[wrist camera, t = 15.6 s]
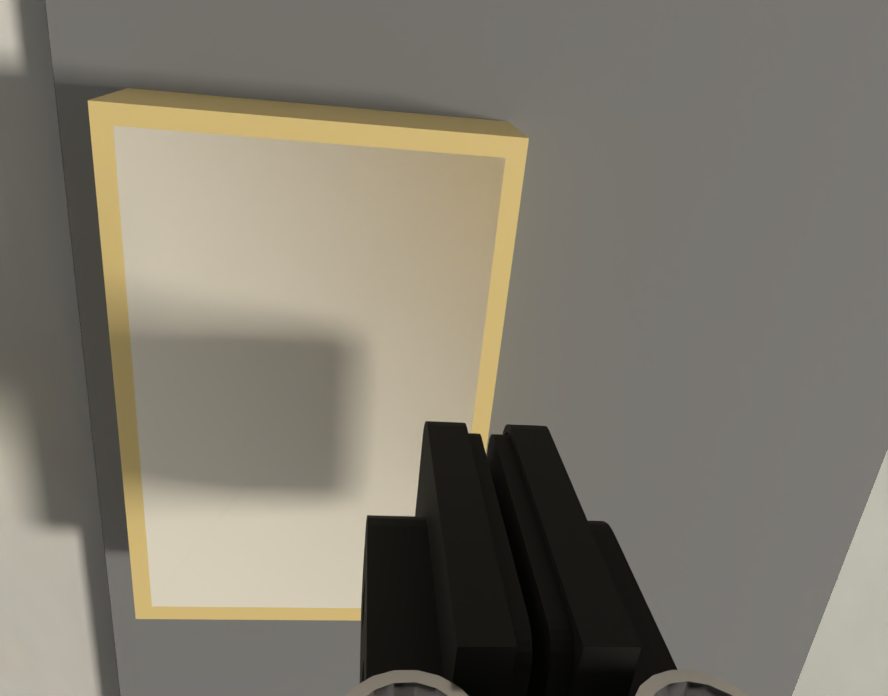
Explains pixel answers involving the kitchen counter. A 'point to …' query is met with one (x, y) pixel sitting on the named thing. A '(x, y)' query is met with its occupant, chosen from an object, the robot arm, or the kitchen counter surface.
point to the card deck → (290, 332)
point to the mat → (583, 285)
